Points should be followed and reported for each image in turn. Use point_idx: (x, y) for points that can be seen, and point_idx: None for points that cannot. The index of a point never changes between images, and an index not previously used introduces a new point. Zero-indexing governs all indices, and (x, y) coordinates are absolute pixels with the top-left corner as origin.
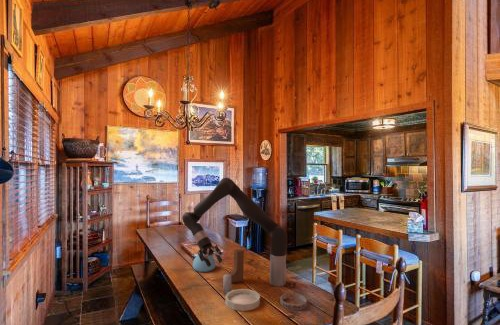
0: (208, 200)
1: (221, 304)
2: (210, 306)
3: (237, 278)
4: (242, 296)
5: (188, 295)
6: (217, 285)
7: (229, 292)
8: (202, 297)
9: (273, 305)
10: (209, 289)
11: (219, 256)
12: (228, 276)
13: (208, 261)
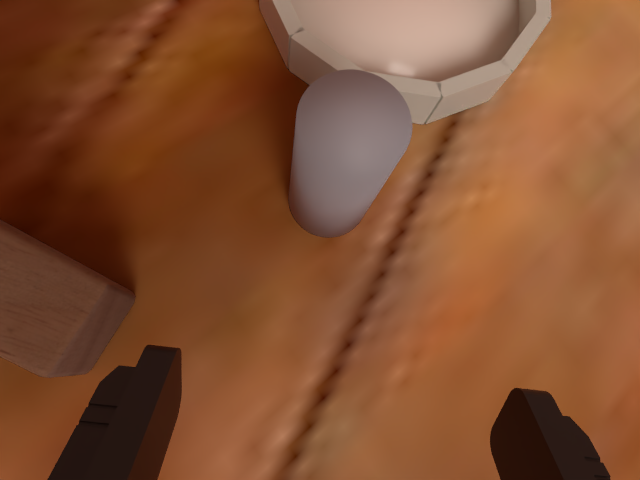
0: None
1: (528, 108)
2: (606, 157)
3: (37, 240)
4: (349, 18)
5: (617, 463)
6: (258, 381)
7: (428, 85)
8: (552, 316)
9: None
10: (388, 383)
11: (102, 470)
12: (374, 89)
13: (594, 475)
